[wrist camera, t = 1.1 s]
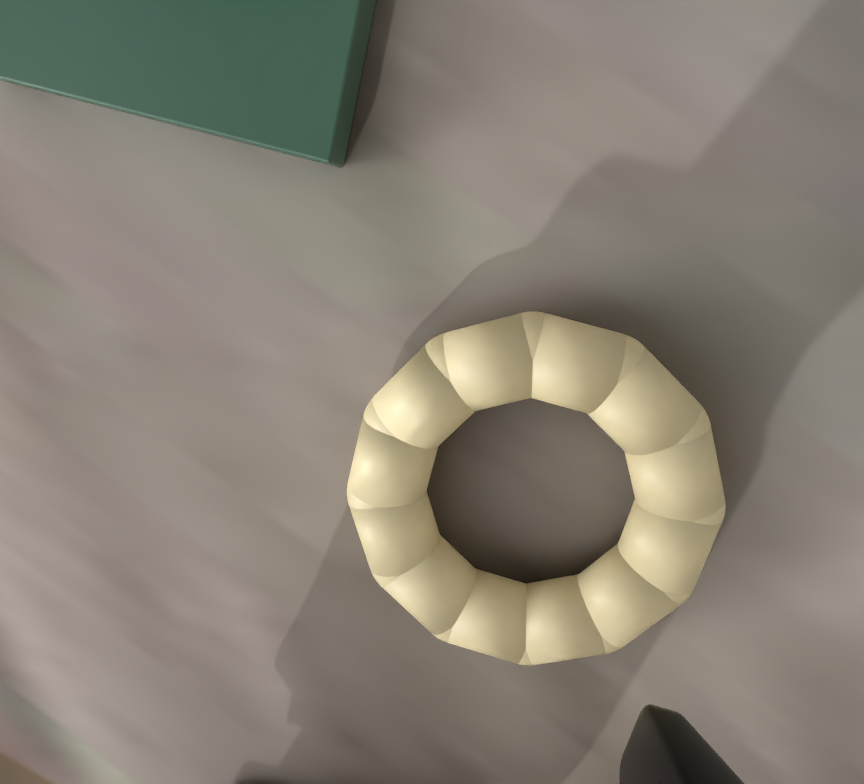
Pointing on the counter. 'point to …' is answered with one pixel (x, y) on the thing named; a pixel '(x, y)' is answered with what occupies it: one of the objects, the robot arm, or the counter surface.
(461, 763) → the counter surface
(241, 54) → the stand
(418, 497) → the ring
